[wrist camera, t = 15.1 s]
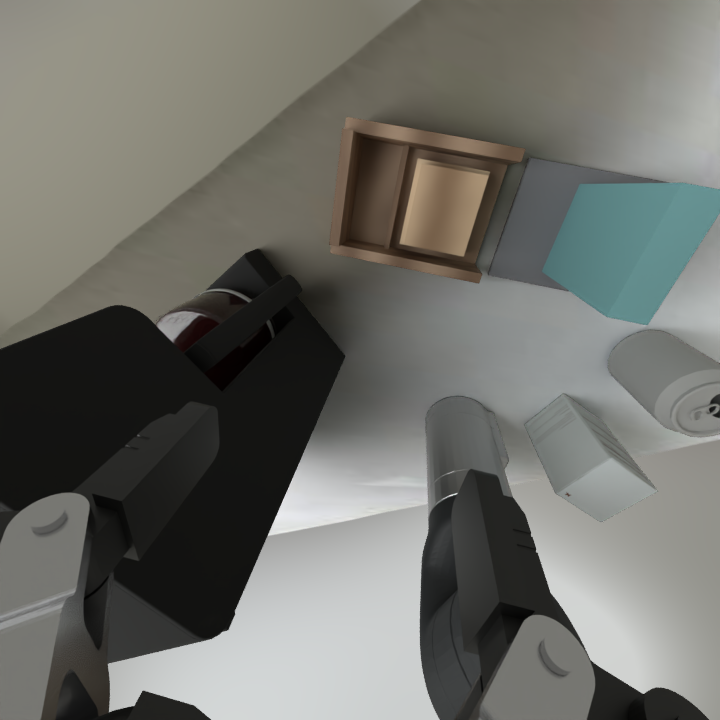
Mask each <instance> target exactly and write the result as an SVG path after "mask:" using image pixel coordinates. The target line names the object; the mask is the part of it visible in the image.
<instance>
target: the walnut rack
mask: <svg viewBox="0 0 720 720" xmlns="http://www.w3.org/2000/svg"><path fill="white" fill-rule="evenodd" d="M524 152H525V149H524V148H518V147H513V146H507V145H502V144H496V143H490V142H485V141H479V140H474V139H468V138H462V137H457V136H451V135H446V134H440V133H434V132H429V131H423V130H418V129H412V128H406V127H401V126H395V125H390V124H384V123H378V122H373V121H367V120H362V119H356V118H350V117H346V123H345V129H343V128H342V137H341V145H340V154H339V163H338V172H337V180H336V189H335V198H334V207H333V216H332V224H331V233H330V242H329V245H331V251H330V253H333V254H337V255H342V256H347V257H352V258H357V259H362V260H367V261H372V262H377V263H381V264H386V265H391V266H396V267H401V268H406V269H411V270H416V271H421V272H425V273H430V274H435V275H440V276H445V277H450V278H455V279H460V280H465V281H469V282H474V283H479V282H480V279H481V276H482V273H481V272H480V270H479V269H478V267H477V266H476V265H475V263H476V259H477V256H478V253H479V250H480V247H481V244H482V241H483V238H484V235H485V232H486V229H487V226H488V223H489V220H490V217H491V214H492V211H493V208H494V205H495V202H496V199H497V196H498V193H499V190H500V187H501V184H502V181H503V178H504V175H505V172H506V169H507V166H508V165H511V164H515V163H519V162H521V161H522V158H523V155H524ZM418 158H419V159H424V160H429V161H435V162H440V163H446V164H451V165H457V166H462V167H467V168H473V169H478V170H484V171H489V172H490V174H489V177H488V180H487V183H486V187H485V190H484V193H483V196H482V199H481V203H480V206H479V209H478V212H477V216H476V219H475V222H474V225H473V228H472V232H471V235H470V238H469V241H468V244H467V248H466V251H465V254H464V257H463V256H458V255H453V254H448V253H443V252H438V251H433V250H428V249H423V248H418V247H413V246H408V245H403V244H400V239H401V234H402V230H403V225H404V220H405V216H406V211H407V206H408V202H409V197H410V192H411V188H412V183H413V178H414V174H415V169H416V164H417V160H418Z"/></svg>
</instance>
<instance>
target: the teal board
mask: <svg viewBox="0 0 720 720" xmlns="http://www.w3.org/2000/svg"><path fill="white" fill-rule="evenodd" d="M719 213H720V189H714V188H709V187H703V186H698V185H692V184H687V183H623V184H580V185H579V187H578V189H577V191H576V194H575V196H574V198H573V201H572V203H571V205H570V208H569V210H568V212H567V214H566V217H565V219H564V221H563V224H562V226H561V228H560V231H559V233H558V235H557V237H556V240H555V242H554V244H553V247H552V249H551V251H550V254H549V256H548V258H547V260H546V263H545V265H544V267H543V270H542V272H543V273H544V274H546V275H547V276H549V277H550V278H552V279H553V280H554V281H556V282H557V283H559V284H560V285H562V286H563V287H564V288H566V289H567V290H569V291H570V292H572V293H573V294H575V295H576V296H577V297H579V298H580V299H582V300H583V301H585V302H586V303H587V304H589V305H590V306H592V307H593V308H595V309H596V310H597V311H599V312H600V313H602V314H603V315H605V316H606V317H610V318H614V319H619V320H624V321H629V322H634V323H639V324H643V325H648V324H649V322H650V320H651V319H652V317H653V316H654V314H655V313H656V311H657V310H658V308H659V307H660V305H661V303H662V302H663V300H664V299H665V297H666V296H667V294H668V293H669V291H670V289H671V288H672V286H673V285H674V283H675V282H676V280H677V279H678V277H679V275H680V274H681V272H682V271H683V269H684V268H685V266H686V265H687V263H688V261H689V260H690V258H691V257H692V255H693V254H694V252H695V251H696V249H697V247H698V246H699V244H700V243H701V241H702V240H703V238H704V237H705V235H706V233H707V232H708V230H709V229H710V227H711V226H712V224H713V223H714V221H715V219H716V218H717V216H718V215H719Z"/></svg>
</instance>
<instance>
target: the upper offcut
mask: <svg viewBox="0 0 720 720" xmlns="http://www.w3.org/2000/svg"><path fill="white" fill-rule="evenodd" d="M488 177H489V176H487V175H482V174H476V173H471V172H466V171H460V170H455V169H449V168H444V167H439V166H433V165H428V164H422V165H421V169H420V174H419V178H418V183H417V187H416V192H415V196H414V201H413V205H412V210H411V215H410V219H409V224H408V228H407V233H406V237H405V242H404V244H405V245H410V246H415V247H420V248H425V249H430V250H435V251H440V252H445V253H450V254H455V255H460V256H464V254H465V251H466V248H467V244H468V241H469V238H470V235H471V232H472V228H473V225H474V222H475V219H476V216H477V212H478V209H479V206H480V203H481V199H482V196H483V193H484V190H485V187H486V183H487V180H488Z"/></svg>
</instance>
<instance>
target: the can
mask: <svg viewBox="0 0 720 720" xmlns="http://www.w3.org/2000/svg"><path fill="white" fill-rule="evenodd" d="M608 369H609V371H610V374H611V376H612V377H613V378H614V379H615V380H617V381H618V382H619V383H620V384H621V385H622V386H623V387H624V388H625V389H626V390H627V391H628V392H629V393H630V394H631V395H632V396H633V397H634V398H635V399H636V400H637V401H638V402H639V403H640V404H641V405H642V406H643V407H644V408H645V409H646V410H647V411H648V412H649V413H650V414H651V415H652V416H653V417H654V418H655V419H656V420H657V421H658V422H659V423H660V424H662V425H663V426H664V427H665V428H667V429H670V430H673V431H676V432H680V433H682V434H685V435H688V436H692V437H708V436H715V435H718V434H720V363H718V362H716V361H715V360H713V359H711V358H709V357H708V356H706V355H704V354H703V353H701V352H699V351H698V350H696V349H694V348H693V347H691V346H689V345H688V344H686V343H684V342H682V341H681V340H679V339H677V338H676V337H674V336H672V335H671V334H668V333H666V332H663V331H655V330H648V331H643V332H638V333H636V334H633V335H631V336H629V337H627V338H625V339H624V340H623V341H621V342H620V343H619V344H618V345H617V346H616V347H615V348H614V350H613V351H612V352H611V354H610V357H609V359H608Z"/></svg>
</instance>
